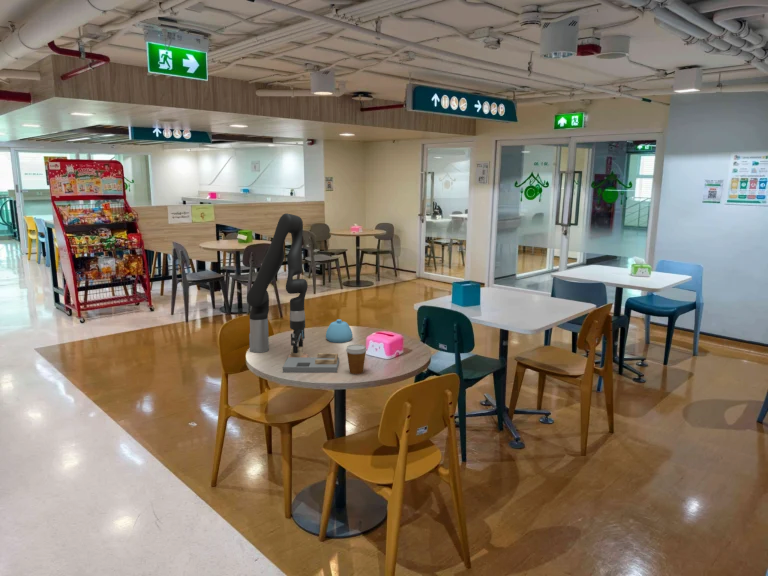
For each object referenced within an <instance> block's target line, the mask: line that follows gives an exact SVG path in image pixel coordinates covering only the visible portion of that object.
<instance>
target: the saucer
mask: <svg viewBox="0 0 768 576" xmlns="http://www.w3.org/2000/svg"><path fill="white" fill-rule="evenodd" d="M287 356H288V357H291V353H289V354H288V355H287ZM288 357H287V358H288ZM301 357H309V354H308V353H306V352H303V355H302V356H301Z"/></svg>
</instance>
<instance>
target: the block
mask: <svg viewBox="0 0 768 576" xmlns="http://www.w3.org/2000/svg"><path fill="white" fill-rule="evenodd" d="M303 353H304V346H303V347H298V353H293V346H292V347H291V348H290V353H289V354H291V357H301V356H302V355H303Z"/></svg>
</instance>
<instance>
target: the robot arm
mask: <svg viewBox="0 0 768 576" xmlns="http://www.w3.org/2000/svg"><path fill="white" fill-rule="evenodd" d="M303 230H304V223H303V219H302V217H301V216H298V215H296V214H292V213H284V214H282V215H281V216H280V217H279V220H278V222H277V223H276V228H275V231H274V234H273V237H272V239H271V242H270V245H269V247H268V249H267V252H266V253H265V255H264V258H263V260H262V263H261V265H260V268H259V270H258V273H257V275H256V278H255V280H254V282H253V283H252V285H251V288H250V289H248V292H247V294H246V302H247V303H248V305H249V306H250V307H251V311H250V312H249V334H248V337H249V339H248V340H249V352H251V353H252V352H253V353H265V352H267V351H269V350H270V348H269V347H270V344H269V343H270V342H269V338H270V337H269V310H270V295H269V291H268V287H269V286H270V284H271V283H272V281H273V280H274V278H275V277H276V276H277V274H278V273H279V271H280V269H281V267H282V265H283V263H284V260H285V245H284V244H285V241H286V238H287V236H288V234H290V236H291V245H290V248H289V251H288V253H287V257H286V258H287V260H286V262H287V278H286V279H287V280H286V283H285V291H286V292H287V293H288V294H290V295H292V294H299V295H298V296H295V297H292V298H291V299H290V300H289V329H291V330H292V331H293V332H292V333H290V345H291V346H292V347H293V353H298V347H303V348H304V340H305V336H306V335H305V328H306V314H305V313H306V312H305V299H306V294H307V290H308V282H307V280H306V279H305V278H294V277H295V276H298V275H300V274H301V275H302V273H303V259H302V247H303V234H304V233H303V232H304V231H303Z"/></svg>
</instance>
